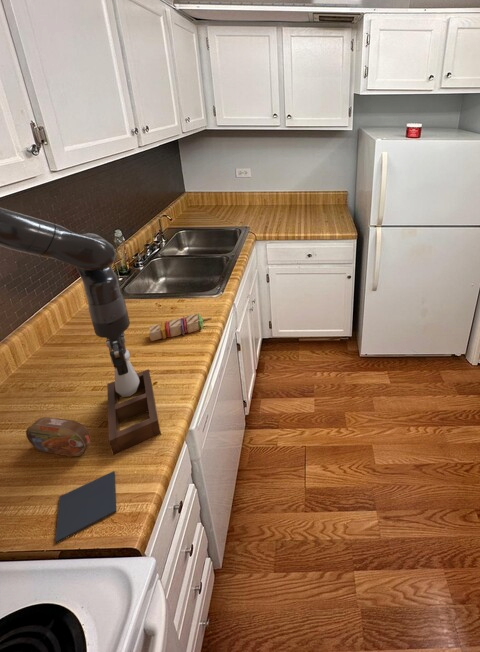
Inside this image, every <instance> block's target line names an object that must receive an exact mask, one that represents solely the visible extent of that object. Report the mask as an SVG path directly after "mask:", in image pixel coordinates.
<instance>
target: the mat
mask: <svg viewBox="0 0 480 652" xmlns="http://www.w3.org/2000/svg"><path fill="white" fill-rule="evenodd" d="M116 491H117V490H116V471H115V470H113V471H111V472H109V473H107V474H104V475H103V476H100V477H98V478H96V479H93V480H91V481H90V482H88V483H85V484H83V485H81V486H79V487H77V488H74V489H72V490H71V491H68V492H66V493H64V494H62V495H60V496H59V501H58V510H57V520H56V530H55V538H54V539H55V540H54V542H55V544H58V543H60V542H62V541H63V539H64V538H66V537H68V536H70V537H72V536H73V535H72V534H74V535H75V534H78V533H79V532H81V531H83V530H85V529H87V528H88V527H91V526H93V525H95V524H96V523H98V522H101V521H102V520H104V519H106V518H108V517H110V516H112V515H114V514H116V513H117V493H116ZM71 535H72V536H71ZM68 538H69V537H68ZM66 539H67V538H66ZM61 540H62V541H61ZM64 540H65V539H64ZM59 541H60V542H59ZM57 542H58V543H57Z"/></svg>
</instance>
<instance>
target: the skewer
mask: <svg viewBox="0 0 480 652" xmlns="http://www.w3.org/2000/svg"><path fill="white" fill-rule="evenodd" d="M208 321H212V317H208V318H203V317H202V316H201V314H200V313H193V314H189V315H186V316H183V317H180V318H175V319H174V318H173V319H170V320H168V321H167V320H166V321H165V322H164V321H163V322H160V323H158V324H154V325H150V326H149V332H148V333H149V336H148V337H149V339H150V341H151V342H153V341H157V340H160V339H163V340H165V339H166V338H170V337H171V338H172V337H177V336H180V335H182V336H184V335H185V334H190V333H193V332H196V331H199V330H203V328H204V327H203V326H204V323H205V322H208Z"/></svg>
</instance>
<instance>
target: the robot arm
mask: <svg viewBox="0 0 480 652" xmlns="http://www.w3.org/2000/svg"><path fill="white" fill-rule="evenodd" d="M0 247H2V248H5V249H8V250H11V251H16V252H19V253H24V254H28V255H33V256H37V257H42V258H48V259H52V260H56V261H58V262H61V263H64V264H66V265H69V266H72V267H76V270H77V272H78V274H79V277H80V278H81V281H82V284H83V289H84V293H85V297H86V301H87V304H88V312H89V316H90V320H91V323H92V327H93V330H94V334H95V335H96V336H97V337H99V338H105V339H106V340H105V344H106V348H108V351H109V356H110V359H111V358H112V361H113V364H112V365H113V367H114V369H115V368H117V371H118V375H119V376H121V375H124V374H127V373H128V367H127V362H126V358H125V353H126V349H127V347H126V337H125V335H126V334H125V332H126V330H128V328H129V327H130V325H131V321H130V315H129V313H128V308H127V305H126V300H125V297H124V295H123V292H122V287H121V283H120V279H119V276H118V275H117V273H116V272H115V271H114V269H113V267H112V266H113V265H114V263H115V261H116V259H117V251H116V250H117V249H116V248H115V246H114V245H113V244H112V243H110V242H109V241H108V240H106V239H105V238H103V236H101V235H99V234H97V233H93V232H92V233H91V232H90V233H89V232H87V233H83V234H80V233H77V232H74V231H71V230H70V229H68V228H66V227H64V226H62V225H61V224H57V223H53V222H50V221H47V220H44V219H40V218H37V217H34V216H30V215H27V214H23V213H20V212H16V211H13V210H10V209H6V208H3V207H0ZM122 349H123V350H122Z"/></svg>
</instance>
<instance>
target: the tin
mask: <svg viewBox="0 0 480 652" xmlns="http://www.w3.org/2000/svg"><path fill="white" fill-rule="evenodd" d="M25 435H26V439H27V440H28V442H29V444H31V446H33V447H34V448H35V449H36V450H38V451H40V452H42V453H49V454H56V455H61V456H62V455H63V456H68V457H79V456H81V455H83V454H84V452H85V451H86V450H87V448H88V447H89V446H90V444H91V442H92V437H91V434H90V431H89V429H88V428H87V427H86V426H85V425H84V424H83V423H81V422H79V421H76V420H69V419H64V418H57V417H48V416H45V417H44V416H43V417H40V418H38V419H37V420H36V421H34V422H33V423H32V424H31V425H29V426H28V427H27V428H26V430H25Z"/></svg>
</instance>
